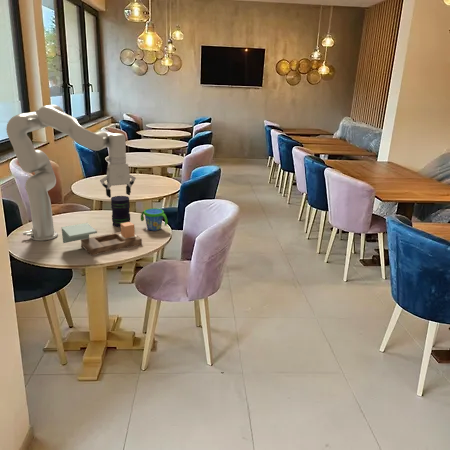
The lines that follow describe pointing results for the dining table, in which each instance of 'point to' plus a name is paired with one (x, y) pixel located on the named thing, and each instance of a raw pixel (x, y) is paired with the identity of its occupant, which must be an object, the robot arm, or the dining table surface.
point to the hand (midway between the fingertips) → (118, 195)
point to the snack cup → (154, 218)
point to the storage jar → (120, 210)
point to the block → (127, 229)
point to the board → (109, 243)
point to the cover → (77, 232)
